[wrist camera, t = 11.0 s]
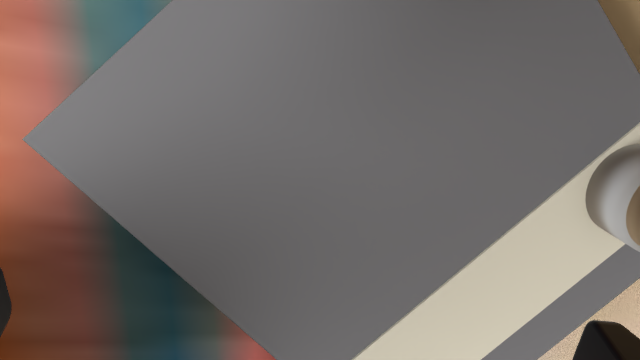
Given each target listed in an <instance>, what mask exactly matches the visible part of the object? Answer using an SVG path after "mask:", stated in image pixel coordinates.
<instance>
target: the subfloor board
mask: <svg viewBox="0 0 640 360" xmlns="http://www.w3.org/2000/svg"><path fill="white" fill-rule="evenodd" d="M22 140H24V141H25V142H26V143H27V144H28V145H29V146H31V147H32V148H33V149H34V150H35V151H36V152H37V153H39V154H40V155H41V156H42V157H43V158H44V159H46V160H47V161H48V162H49V163H50V164H51V165H52V166H54V167H55V168H56V169H57V170H58V171H59V172H61V173H62V174H63V175H64V176H65V177H66V178H67V179H69V180H70V181H71V182H72V183H73V184H74V185H76V186H77V187H78V188H79V189H80V190H81V191H82V192H84V193H85V194H86V195H87V196H88V197H89V198H91V199H92V200H93V201H94V202H95V203H96V204H97V205H99V206H100V207H101V208H102V209H103V210H104V211H106V212H107V213H108V214H109V215H110V216H111V217H113V218H114V219H115V220H116V221H117V222H118V223H119V224H121V225H122V226H123V227H124V228H125V229H126V230H128V231H129V232H130V233H131V234H132V235H133V236H134V237H136V238H137V239H138V240H139V241H140V242H141V243H143V244H144V245H145V246H146V247H147V248H148V249H149V250H151V251H152V252H153V253H154V254H155V255H156V256H158V257H159V258H160V259H161V260H162V261H163V262H164V263H166V264H167V265H168V266H169V267H170V268H171V269H173V270H174V271H175V272H176V273H177V274H178V275H179V276H181V277H182V278H183V279H184V280H185V281H186V282H188V283H189V284H190V285H191V286H192V287H193V288H194V289H196V290H197V291H198V292H199V293H200V294H201V295H203V296H204V297H205V298H206V299H207V300H208V301H209V302H211V303H212V304H213V305H214V306H215V307H216V308H218V309H219V310H220V311H221V312H222V313H223V314H224V315H226V316H227V317H228V318H229V319H230V320H231V321H233V322H234V323H235V324H236V325H237V326H238V327H240V328H241V329H242V330H243V331H244V332H245V333H246V334H248V335H249V336H250V337H251V338H252V339H253V340H255V341H256V342H257V343H258V344H259V345H260V346H261V347H263V348H264V349H265V350H266V351H267V352H268V353H270V354H271V355H272V356H273V357H274V358H275V359H276V360H537V359H538V358H539V357H541V356H542V355H543V354H545V353H546V352H547V351H548V350H550V349H551V348H552V347H553V346H555V345H556V344H557V343H558V342H560V341H561V340H562V339H563V338H565V337H566V336H567V335H568V334H570V333H571V332H572V331H574V330H575V329H576V328H577V327H579V326H580V325H581V324H582V323H584V322H585V321H586V320H587V319H589V318H590V317H591V316H592V315H594V314H595V313H596V312H598V311H599V310H600V309H601V308H603V307H604V306H605V305H606V304H608V303H609V302H610V301H611V300H613V299H614V298H615V297H616V296H618V295H619V294H620V293H621V292H623V291H624V290H625V289H627V288H628V287H629V286H630V285H632V284H633V283H634V282H635V281H637V280H638V279H639V278H640V252H638V251H637V250H635V249H633V248H632V247H630V246H629V245H627V244H625V243H624V242H622V241H621V240H619V239H617V238H616V237H614V236H613V235H611V234H609V233H608V232H606V231H605V230H603V229H601V228H600V227H598V226H597V225H596V224H595V223H594V222H593V221H592V220H591V218H590V216H589V214H588V212H587V208H586V201H585V198H586V190H587V186H588V183H589V180H590V178H591V176H592V174H593V172H594V171H595V169H596V168H597V167H598V165H599V164H600V163H601V162H602V161H603V160H604V159H605V158H606V157H607V156H609V155H610V154H611V153H613V152H615V151H616V150H618V149H620V148H622V147H625V146H628V145H634V144H640V74H639V72H638V71H637V69H636V67H635V65H634V64H633V62H632V60H631V58H630V56H629V55H628V53H627V51H626V49H625V48H624V46H623V44H622V42H621V41H620V39H619V37H618V35H617V34H616V32H615V30H614V28H613V27H612V25H611V23H610V21H609V20H608V18H607V16H606V14H605V13H604V11H603V9H602V7H601V5H600V4H599V2H598V0H172V1H171V2H170V3H169V4H168V5H167V6H166V7H165V8H164V9H163V10H161V11H160V12H159V13H158V14H157V15H156V16H155V17H154V18H153V19H152V20H151V21H150V22H149V23H147V24H146V25H145V26H144V27H143V28H142V29H141V30H140V31H139V32H138V33H137V34H136V35H135V36H133V37H132V38H131V39H130V40H129V41H128V42H127V43H126V44H125V45H124V46H123V47H122V48H120V49H119V50H118V51H117V52H116V53H115V54H114V55H113V56H112V57H111V58H110V59H109V60H108V61H106V62H105V63H104V64H103V65H102V66H101V67H100V68H99V69H98V70H97V71H96V72H95V73H93V74H92V75H91V76H90V77H89V78H88V79H87V80H86V81H85V82H84V83H83V84H82V85H81V86H79V87H78V88H77V89H76V90H75V91H74V92H73V93H72V94H71V95H70V96H69V97H68V98H67V99H65V100H64V101H63V102H62V103H61V104H60V105H59V106H58V107H57V108H56V109H55V110H54V111H52V112H51V113H50V114H49V115H48V116H47V117H46V118H45V119H44V120H43V121H42V122H41V123H40V124H38V125H37V126H36V127H35V128H34V129H33V130H32V131H31V132H30V133H29V134H28V135H27V136H25V137H24V138H23V139H22Z"/></svg>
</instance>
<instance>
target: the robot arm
mask: <svg viewBox="0 0 640 360" xmlns="http://www.w3.org/2000/svg"><path fill="white" fill-rule="evenodd" d="M10 314H11V300H10V297H9V293H8V290H7V286H6V282H5V279H4V275H3V272H2V269H1V268H0V337H1V335H2V333H3V331H4V329H5V327H6V325H7V323H8V320H9V318H10ZM573 360H640V339H639V338H638V337H636V336H635V335H634V334H633V333H631V332H630V331H629V330H628V329H626V328H625V327H624V326H622V325H621V324H619V323H616V322H608V321H597V320H593V321H590V322H589V323H588V324H587V325H586V327H585V328H584V331H583V334H582V336H581V339H580V341H579V344H578V346H577V349H576V351H575V354H574V357H573Z"/></svg>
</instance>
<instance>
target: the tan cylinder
mask: <svg viewBox="0 0 640 360" xmlns="http://www.w3.org/2000/svg"><path fill="white" fill-rule="evenodd" d="M585 201H586V208H587V212H588V214H589V216H590V218H591V220H592V221H593V222H594V223H595V224H596V225H597V226H598V227H600V228H601V229H603V230H605V231H606V232H608V233H609V234H611V235H613V236H614V237H616V238H617V239H619V240H621V241H622V242H624V243H625V244H627V245H629V246H630V247H632V248H633V249H635V250H637V251H638V252H640V144H634V145H628V146H625V147H622V148H620V149H618V150H616V151H615V152H613V153H611V154H610V155H609V156H607V157H606V158H605V159H604V160H603V161H602V162H601V163H600V164H599V165H598V167H597V168H596V169H595V171H594V172H593V174H592V176H591V178H590V180H589V183H588V186H587V190H586V198H585Z"/></svg>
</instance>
